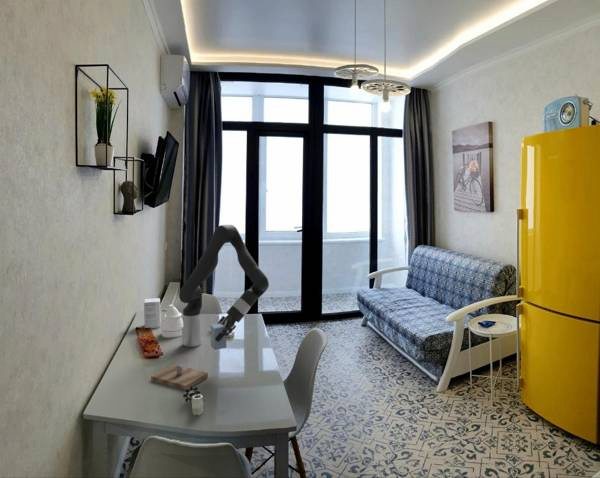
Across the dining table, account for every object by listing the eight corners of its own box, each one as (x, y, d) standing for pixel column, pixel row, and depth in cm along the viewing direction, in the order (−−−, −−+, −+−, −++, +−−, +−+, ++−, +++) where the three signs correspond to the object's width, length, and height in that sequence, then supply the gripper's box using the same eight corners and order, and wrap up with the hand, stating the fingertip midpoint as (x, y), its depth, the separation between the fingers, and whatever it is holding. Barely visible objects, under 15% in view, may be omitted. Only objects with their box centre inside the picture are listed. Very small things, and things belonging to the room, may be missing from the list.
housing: (214, 349, 178) (214, 328, 177) (210, 345, 183) (210, 325, 182) (226, 347, 181) (226, 326, 180) (222, 343, 186) (222, 323, 185)
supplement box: (145, 324, 250) (144, 298, 249) (160, 323, 253) (160, 297, 251) (144, 329, 241) (143, 302, 240) (160, 327, 244) (159, 301, 242)
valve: (208, 413, 146) (199, 399, 156) (207, 396, 145) (199, 383, 156) (190, 418, 143) (182, 403, 153) (189, 401, 142) (182, 387, 152)
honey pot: (180, 337, 226) (179, 307, 225) (158, 337, 227) (157, 307, 225) (187, 330, 239) (186, 301, 237) (166, 330, 239) (165, 301, 238)
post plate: (151, 380, 172) (150, 367, 172) (174, 368, 185) (174, 356, 184) (185, 390, 163) (185, 376, 163) (207, 376, 176) (207, 364, 175)
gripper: (228, 301, 190) (204, 329, 185) (238, 308, 177) (213, 338, 173) (238, 310, 193) (215, 338, 188) (249, 318, 181) (225, 348, 176)
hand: (214, 338), depth 181 cm, fingers closed on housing, 5 cm apart
